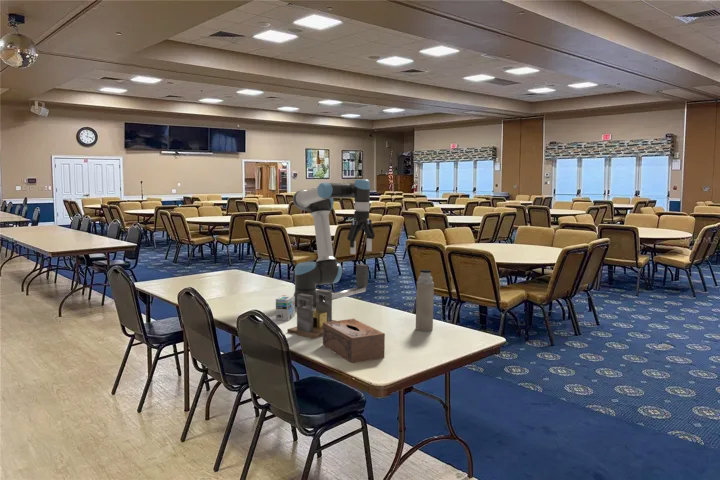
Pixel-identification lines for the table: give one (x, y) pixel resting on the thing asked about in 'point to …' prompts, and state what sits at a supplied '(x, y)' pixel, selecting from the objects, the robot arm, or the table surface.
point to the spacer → (319, 318)
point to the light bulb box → (285, 307)
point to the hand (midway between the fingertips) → (361, 252)
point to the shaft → (360, 282)
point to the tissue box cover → (353, 340)
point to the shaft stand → (311, 313)
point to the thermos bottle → (424, 301)
